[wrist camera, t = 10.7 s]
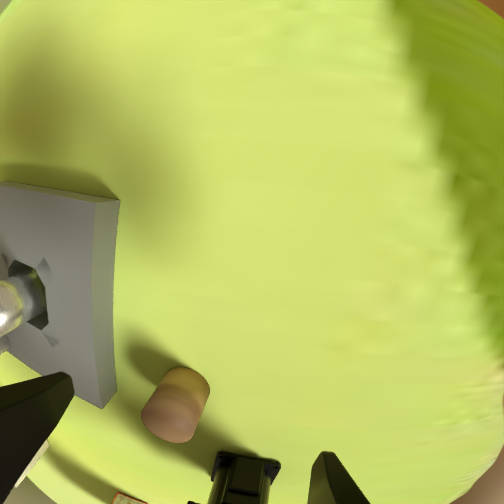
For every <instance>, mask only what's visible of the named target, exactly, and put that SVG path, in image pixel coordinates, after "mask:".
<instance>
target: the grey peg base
mask: <svg viewBox="0 0 504 504" xmlns="http://www.w3.org/2000/svg"><path fill="white" fill-rule="evenodd" d="M119 205H120V200H115V199H110V198H104V197H99V196H93V195H88V194H82V193H76V192H70V191H64V190H58V189H52V188H46V187H40V186H34V185H28V184H21V183H15V182H8V181H1V182H0V281H1V280H3V279H6V278H8V277H11V276H13V275H16V274H18V273H21V272H23V271H26V270H29V269H30V267H32V268H35V269H36V271H37V273H38V275H39V277H40V279H41V281H42V283H43V284H44V286H45V289H46V302H47V311H44V312H42V313H41V314H39V315H37V316H35V317H34V318H32V319H30V320H29V321H27V322H25V323H23V324H22V325H20V326H18V327H17V328H15V329H13V330H12V331H10V332H8V333H7V334H5V335H3V336H2V337H0V355H1V354H2V353H4V352H5V351H8V352H9V353H11V354H12V355H13V356H15V357H16V358H17V359H19V360H20V361H21V362H23V363H24V364H26V365H27V366H29V367H30V368H31V369H33V370H34V371H36V372H37V373H39V374H40V375H42V376H46V375H49V374H53V373H57V372H60V371H63V372H65V373H67V374H69V375H70V376H71V377H72V381H73V386H74V391H75V393H74V395H76V396H77V397H79V398H81V399H83V400H85V401H87V402H89V403H91V404H93V405H95V406H97V407H99V408H101V409H103V408H104V407H105V405H106V404H107V403H108V402H109V400H110V399H111V398H112V397H113V396H114V394H115V393H116V392H117V387H116V376H115V362H114V343H113V279H114V259H115V245H116V233H117V223H118V214H119ZM29 266H30V267H29Z"/></svg>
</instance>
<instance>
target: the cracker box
mask: <svg viewBox="0 0 504 504" xmlns="http://www.w3.org/2000/svg"><path fill="white" fill-rule="evenodd" d="M111 504H147V503H145V502H142V501H139V500H137V499H134V498H131V497H129V496H126V495H124V494H121V493H119V492H117V493H116V495H115V497H114V499H113V501H112V503H111Z"/></svg>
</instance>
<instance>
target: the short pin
mask: <svg viewBox="0 0 504 504" xmlns="http://www.w3.org/2000/svg"><path fill="white" fill-rule="evenodd" d="M209 394H210V387H209V384H208V382H207V381H206V379H205V378H204V377H203V376H202V375H201V374H199V373H198V372H196V371H194V370H192V369H189V368H186V367H175V368H172V369H170V370H169V371H168V372H167V373H166V375H165V376H164V378H163V379H162V381H161V382H160V384H159V385H158V387H157V388H156V390H155V391H154V393H153V395H152V396H151V398H150V399H149V401H148V402H147V404H146V405H145V407H144V408H143V410H142V412H141V419H142V422H143V423H144V425H145V426H146V428H147V429H148V430H149V431H150V432H152V433H153V434H154V435H156V436H157V437H159V438H161V439H163V440H166V441H169V442H174V443H183V442H187V441H189V440H190V439H191V438H192V437H193V434H194V432H195V429H196V427H197V424H198V422H199V419H200V417H201V414H202V412H203V409H204V407H205V404H206V402H207V399H208V396H209Z"/></svg>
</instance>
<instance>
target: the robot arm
mask: <svg viewBox="0 0 504 504" xmlns="http://www.w3.org/2000/svg"><path fill="white" fill-rule="evenodd" d="M74 393H75V391H74V386H73V381H72V377H71V376H70V375H69V374H67V373H65V372H63V371H60V372H57V373H53V374H49V375H46V376H42V377H38V378H34V379H31V380H27V381H23V382H19V383H15V384H11V385H7V386H2V387H0V504H3V503H4V501H5V500H6V498H7V496H8V495H9V493H10V491H11V490H12V489H13V487H14V485H15V484H16V482H17V481H18V479H19V478H20V477H21V475H22V474H23V472H24V471H25V469H26V468H27V466H28V465H29V463H30V462H31V461H32V459H33V458H34V456H35V455H36V453H37V452H38V451H39V449H40V448H41V446H42V445H43V444H44V442H45V441H46V439H47V438H48V437H49V435H50V434H51V433H52V431H53V430H54V429H55V427H56V426H57V424H58V423H59V421H60V419H61V417H62V416H63V414H64V412H65V410H66V409H67V407H68V405H69V404H70V402H71V400H72V398H73V397H74ZM280 469H281V464H280V463H278V462H272V461H265V460H260V459H254V458H249V457H244V456H239V455H234V454H230V453H226V452H218V453H217V456H216V460H215V464H214V468H213V472H212V476H211V481H212V482H213V486H212V489H211V493H210V496H209V499H208V503H207V504H268V499H269V491H270V486H271V484H272V483H273V481H274V479H275V477H276V476H277V474H278V472H279V470H280ZM187 504H199V503H195V502H193V501H188V503H187ZM307 504H370V502H369V501H368V500H367V498H366V497H365V496H364V494H363V493H362V491H361V490H360V489H359V487H358V486H357V484H356V483H355V482H354V480H353V479H352V477H351V476H350V475H349V473H348V472H347V470H346V469H345V467H344V466H343V465H342V463H341V462H340V460H339V459H338V457H337V456H336V454H335V453H334V452H328V451H322V452H321V453H320V454H319V456H318V457H317V459H316V460H315V462H314V464H313V466H312V470H311V479H310V487H309V495H308V503H307Z"/></svg>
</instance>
